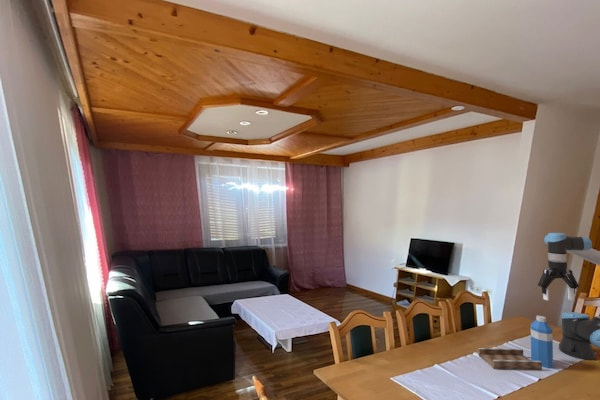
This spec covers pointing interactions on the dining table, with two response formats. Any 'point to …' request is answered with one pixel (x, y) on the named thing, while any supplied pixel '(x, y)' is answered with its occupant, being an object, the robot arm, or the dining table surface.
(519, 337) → the dining table surface
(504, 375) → the dining table surface
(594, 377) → the dining table surface
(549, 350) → the water bottle
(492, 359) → the cradle
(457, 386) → the dining table surface
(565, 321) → the robot arm
